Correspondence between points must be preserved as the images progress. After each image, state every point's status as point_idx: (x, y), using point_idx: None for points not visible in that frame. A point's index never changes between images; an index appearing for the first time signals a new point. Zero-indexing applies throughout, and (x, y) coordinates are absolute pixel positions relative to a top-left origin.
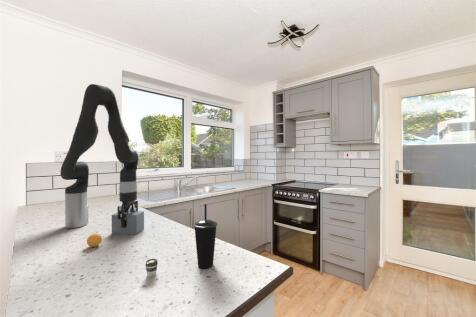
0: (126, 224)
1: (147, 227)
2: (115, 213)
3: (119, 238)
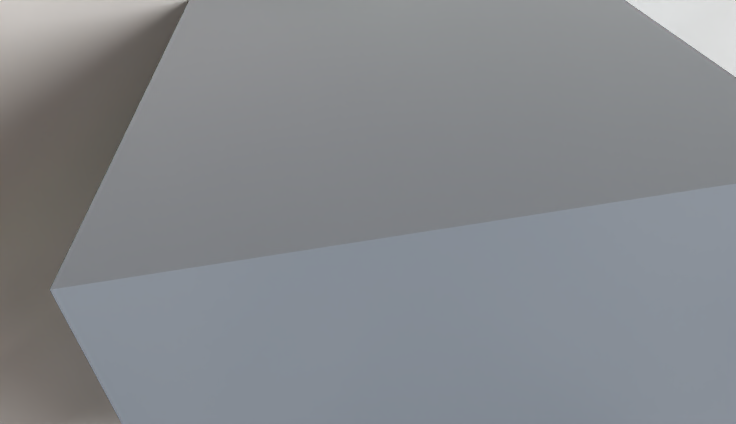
0: None
1: None
2: (341, 268)
3: None
